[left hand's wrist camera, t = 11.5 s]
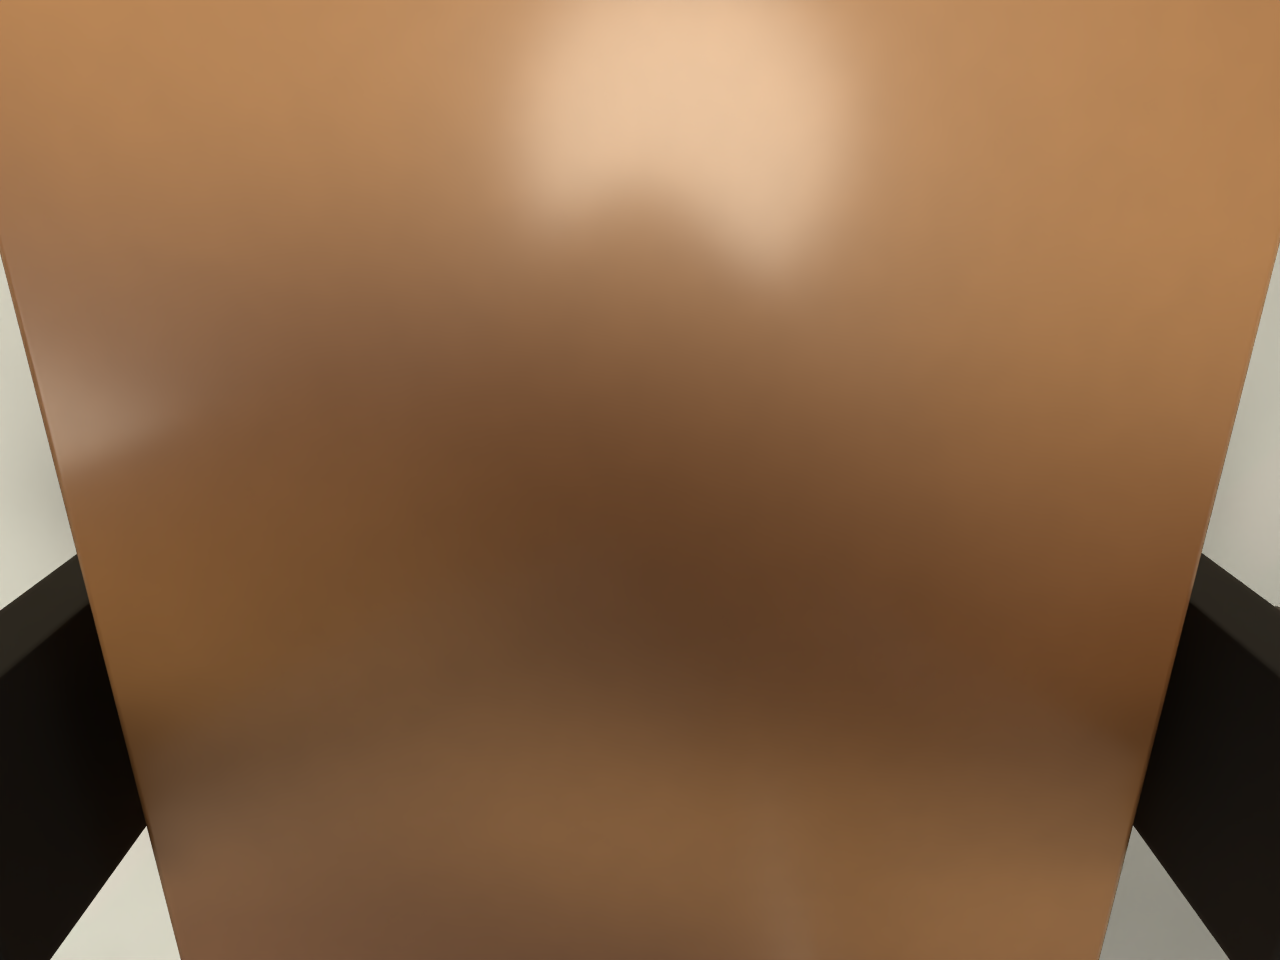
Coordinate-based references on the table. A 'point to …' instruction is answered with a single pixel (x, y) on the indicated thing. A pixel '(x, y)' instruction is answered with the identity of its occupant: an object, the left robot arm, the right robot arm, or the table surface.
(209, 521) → the long wooden beam
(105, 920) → the table surface
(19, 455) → the table surface
